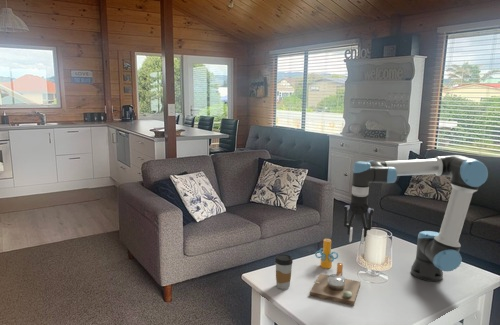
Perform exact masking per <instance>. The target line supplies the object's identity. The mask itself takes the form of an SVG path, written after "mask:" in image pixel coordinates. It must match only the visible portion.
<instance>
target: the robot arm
mask: <svg viewBox="0 0 500 325" xmlns="http://www.w3.org/2000/svg"><path fill="white" fill-rule="evenodd" d="M418 175H419V176H421V175H423V176H425V175H436V176H437V177H440V176H441V177H448V178H450V182H449V183H450V185H451V187H452V189H451V192H450V196H449V199H448V202H447V206H446V209H445V213H444V215H443V220H442V222H441V225H440V229H439V232H437V231H431V230H424V231H423V230H422V231H419V233H418V235H417V245H416V256H415V259H414V261H413V264H412V265H411V268H410V273H411V275H413V276H414V277H416V279H417V278H418V279H420V280H423V281H427V282H439V281H441V280H443V278H444V277H443V276H444V273H443V272H452V271H454V270H457V269H458V268H459V267H460V266H461V264H462V260H463V259H462V255H461V254H460V250H461V246H462V245H461V243H460V241H459V240H460V237H461V233H462V230H463V226H464V223H465V220H466V217H467V214H468V210H469V208H470V204H471V201H472V197H473V194H474V193H476V192H478V190H479V188H480V187H481V186H482V185H483V184H485V182H486V181H487V180H488V177H489V171H488V167H487V166H486V164H485V163H484V162H482V161H481V160H479V159H475V158H471V157H467V156H464V155H460V154H452V155H441V156H435V157H434V158H426V159H423V158H422V159H406V160H403V159H402V160H401V159H400V160H386V161H385V160H384V161H383V160H382V161H377V160H373V159H372V160H368V161H363V160H361V161H360V160H359V161H355V162H354V163H353V170H352V185H351V196H350V204H349V205H344V206H343V209H344V221H343V226H344V227H346V228H347V235H349V240H348V242H349V243H351V242H352V240H353V228H354V227H352V225H353V222H354V219H355V216H356V215H360V218H361V221H362V226H363V228H362V232H361V244H362V245H364V242H365V238H366V237H367V234H368V231H371V230H372V224H373V214H374V212H375V210H374V208H371V207H369V205H368V203H369V201H368V200H369V193H370V192H369V191H370V190H369V189H370V184H371V183H372V184H373V183H374V184H375V183H376V184H394V183H395V182H396V181H397V179H398V177H401V176H418ZM350 209H351V212H352V213H351V214H352V215H351V216H350V220H349V211H350ZM367 211H368V212H367ZM366 212H367V213H368V223H367V220H366ZM348 221H349V223H348ZM367 224H368V226H367Z"/></svg>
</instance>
